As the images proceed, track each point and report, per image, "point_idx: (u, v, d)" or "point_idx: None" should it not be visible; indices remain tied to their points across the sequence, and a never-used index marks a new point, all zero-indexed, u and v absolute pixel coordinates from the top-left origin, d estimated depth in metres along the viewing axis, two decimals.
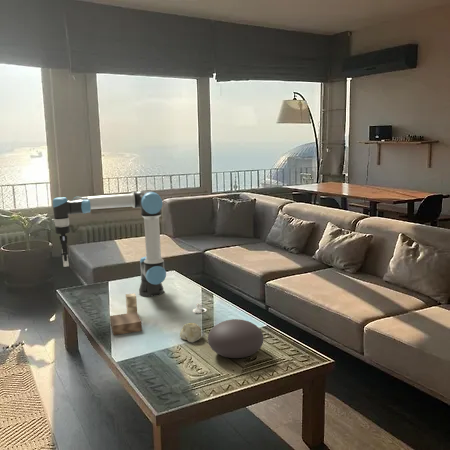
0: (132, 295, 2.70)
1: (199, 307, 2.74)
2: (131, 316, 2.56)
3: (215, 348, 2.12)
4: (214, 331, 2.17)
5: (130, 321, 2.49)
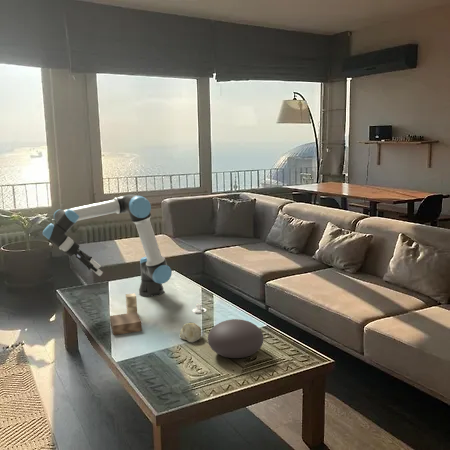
0: (132, 295, 2.70)
1: (199, 307, 2.74)
2: (131, 316, 2.56)
3: (215, 348, 2.12)
4: (214, 331, 2.17)
5: (130, 321, 2.49)
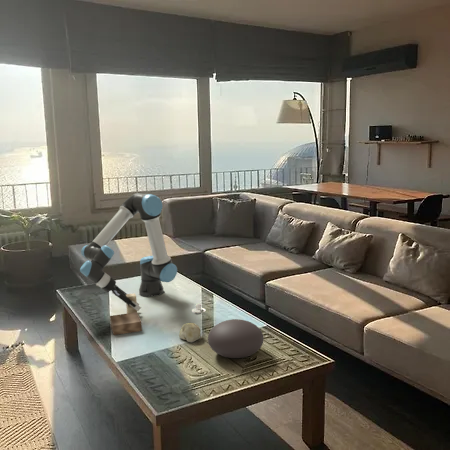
0: (132, 295, 2.70)
1: (198, 307, 2.74)
2: (131, 316, 2.56)
3: (215, 348, 2.12)
4: (214, 331, 2.17)
5: (130, 321, 2.49)
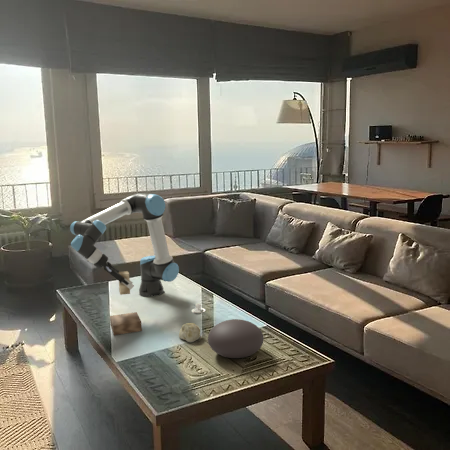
0: (125, 272, 2.59)
1: (198, 307, 2.74)
2: (131, 316, 2.56)
3: (215, 348, 2.12)
4: (214, 331, 2.17)
5: (130, 321, 2.49)
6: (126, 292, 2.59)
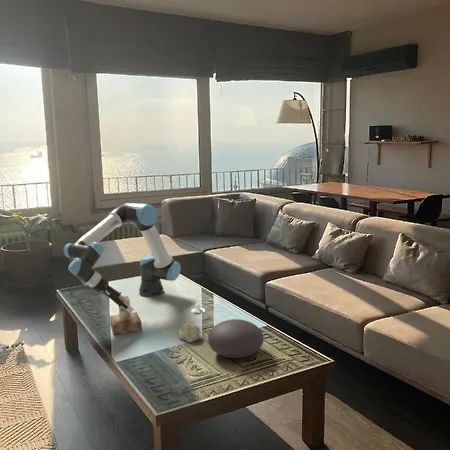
0: (125, 298, 2.50)
1: (198, 307, 2.74)
2: (131, 316, 2.56)
3: (215, 348, 2.12)
4: (214, 331, 2.17)
5: (130, 321, 2.49)
6: (127, 318, 2.51)
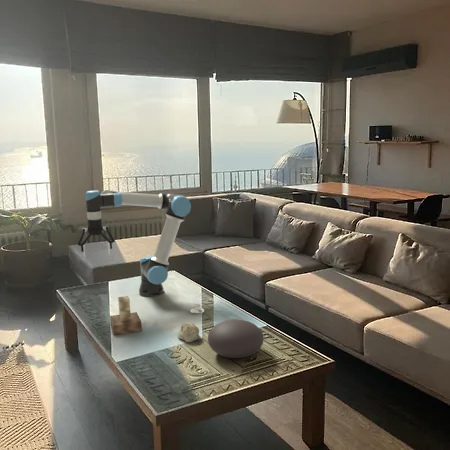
0: (125, 298, 2.50)
1: (197, 307, 2.74)
2: (131, 316, 2.56)
3: (215, 348, 2.12)
4: (214, 331, 2.17)
5: (130, 321, 2.49)
6: (127, 318, 2.51)
